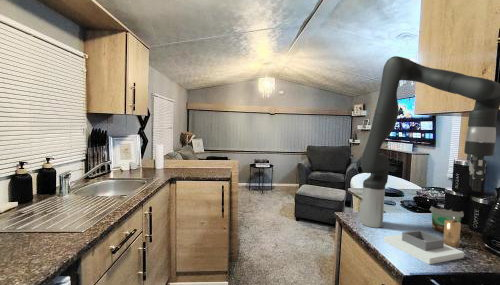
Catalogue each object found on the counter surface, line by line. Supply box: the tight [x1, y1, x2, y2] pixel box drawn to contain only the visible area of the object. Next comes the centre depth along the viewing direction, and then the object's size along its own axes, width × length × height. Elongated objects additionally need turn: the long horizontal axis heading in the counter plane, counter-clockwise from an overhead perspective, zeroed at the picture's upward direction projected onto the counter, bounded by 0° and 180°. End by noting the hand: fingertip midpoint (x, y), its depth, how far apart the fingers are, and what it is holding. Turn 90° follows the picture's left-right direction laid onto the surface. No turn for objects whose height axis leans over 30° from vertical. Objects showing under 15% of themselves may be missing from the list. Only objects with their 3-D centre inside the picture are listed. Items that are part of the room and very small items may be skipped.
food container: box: [429, 205, 465, 234], centre depth 116 cm, size 12×6×10 cm, turn 56°
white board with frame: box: [383, 229, 465, 265], centre depth 97 cm, size 18×17×5 cm
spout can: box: [442, 216, 462, 248], centre depth 102 cm, size 5×5×11 cm
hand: (474, 188), depth 88 cm, fingers open, 8 cm apart
